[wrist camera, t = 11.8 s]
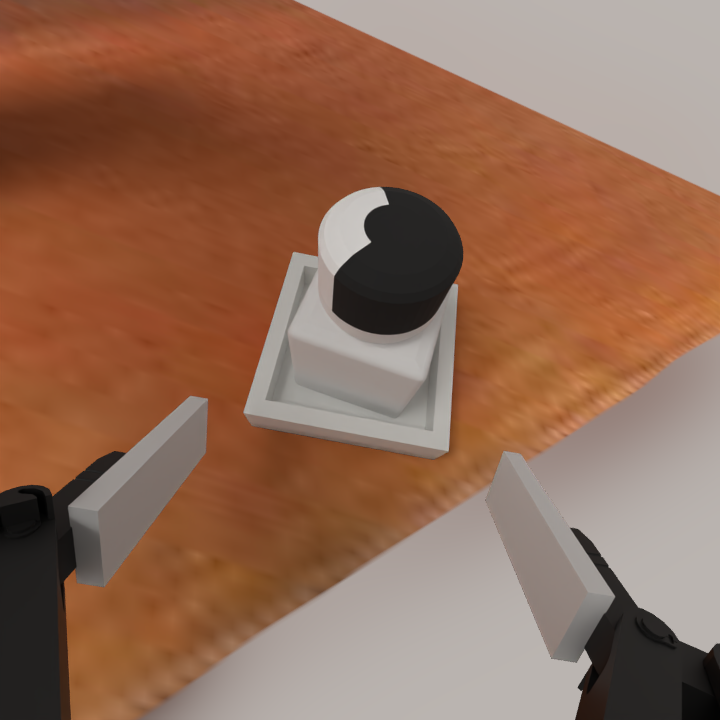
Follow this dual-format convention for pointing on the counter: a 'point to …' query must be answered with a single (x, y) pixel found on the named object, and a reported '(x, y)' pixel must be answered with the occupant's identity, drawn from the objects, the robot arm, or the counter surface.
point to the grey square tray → (340, 418)
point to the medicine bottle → (376, 299)
